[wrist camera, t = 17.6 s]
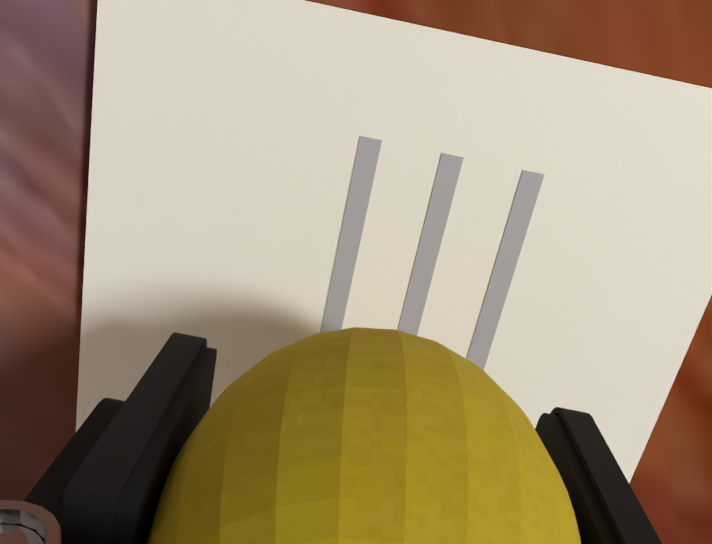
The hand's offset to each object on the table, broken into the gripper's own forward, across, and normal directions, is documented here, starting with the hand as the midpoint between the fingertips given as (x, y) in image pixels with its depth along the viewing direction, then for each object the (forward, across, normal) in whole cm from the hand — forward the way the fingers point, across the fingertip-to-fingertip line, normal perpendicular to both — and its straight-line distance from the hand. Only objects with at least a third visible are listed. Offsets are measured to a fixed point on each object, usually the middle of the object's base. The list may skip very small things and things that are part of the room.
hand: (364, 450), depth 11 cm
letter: (+3, 0, 0) cm, 3 cm away
